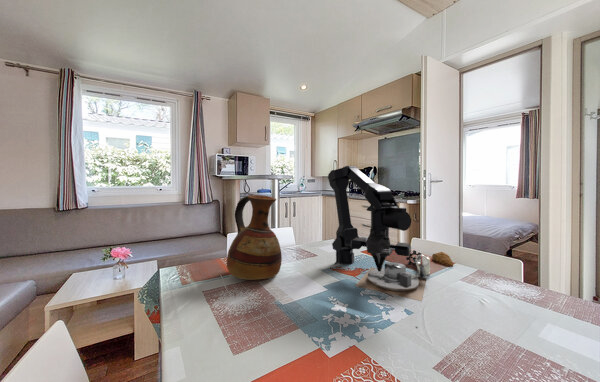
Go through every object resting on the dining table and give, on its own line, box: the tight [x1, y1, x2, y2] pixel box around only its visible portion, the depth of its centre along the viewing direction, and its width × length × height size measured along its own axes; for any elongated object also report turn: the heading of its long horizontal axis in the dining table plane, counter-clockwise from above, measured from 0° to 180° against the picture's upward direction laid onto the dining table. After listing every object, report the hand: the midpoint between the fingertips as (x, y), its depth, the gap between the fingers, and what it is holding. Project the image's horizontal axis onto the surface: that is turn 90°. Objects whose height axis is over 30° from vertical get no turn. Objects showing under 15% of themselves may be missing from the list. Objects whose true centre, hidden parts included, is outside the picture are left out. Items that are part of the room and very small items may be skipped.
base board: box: [354, 267, 427, 302], centre depth 79 cm, size 19×19×1 cm
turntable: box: [367, 267, 419, 291], centre depth 79 cm, size 16×16×5 cm
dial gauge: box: [414, 254, 429, 281], centre depth 81 cm, size 4×3×8 cm
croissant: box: [431, 251, 454, 268], centre depth 98 cm, size 14×7×5 cm, turn 176°
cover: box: [384, 261, 407, 282], centre depth 77 cm, size 7×7×4 cm
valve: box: [405, 250, 431, 276], centre depth 89 cm, size 7×7×12 cm
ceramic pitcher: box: [226, 193, 283, 280], centre depth 88 cm, size 20×20×30 cm
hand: (379, 271), depth 81 cm, fingers closed
